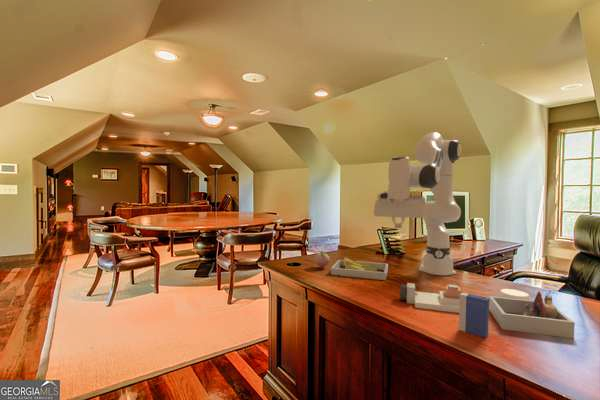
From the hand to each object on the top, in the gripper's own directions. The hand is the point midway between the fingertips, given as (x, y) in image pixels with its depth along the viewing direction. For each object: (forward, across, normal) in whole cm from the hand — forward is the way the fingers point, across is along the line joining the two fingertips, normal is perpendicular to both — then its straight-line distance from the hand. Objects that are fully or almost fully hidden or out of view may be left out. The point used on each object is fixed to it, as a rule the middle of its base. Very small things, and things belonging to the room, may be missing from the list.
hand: (398, 227), depth 131 cm
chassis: (+29, -16, +4) cm, 33 cm away
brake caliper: (+29, -47, +12) cm, 57 cm away
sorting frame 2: (+29, -43, +12) cm, 53 cm away
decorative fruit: (+29, +42, -34) cm, 62 cm away
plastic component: (+30, +20, -34) cm, 49 cm away
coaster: (+30, -46, -12) cm, 56 cm away
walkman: (+29, -24, +27) cm, 47 cm away
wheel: (+29, -5, +4) cm, 30 cm away
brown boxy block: (+27, -21, +4) cm, 35 cm away
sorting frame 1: (+29, +20, -33) cm, 48 cm away
